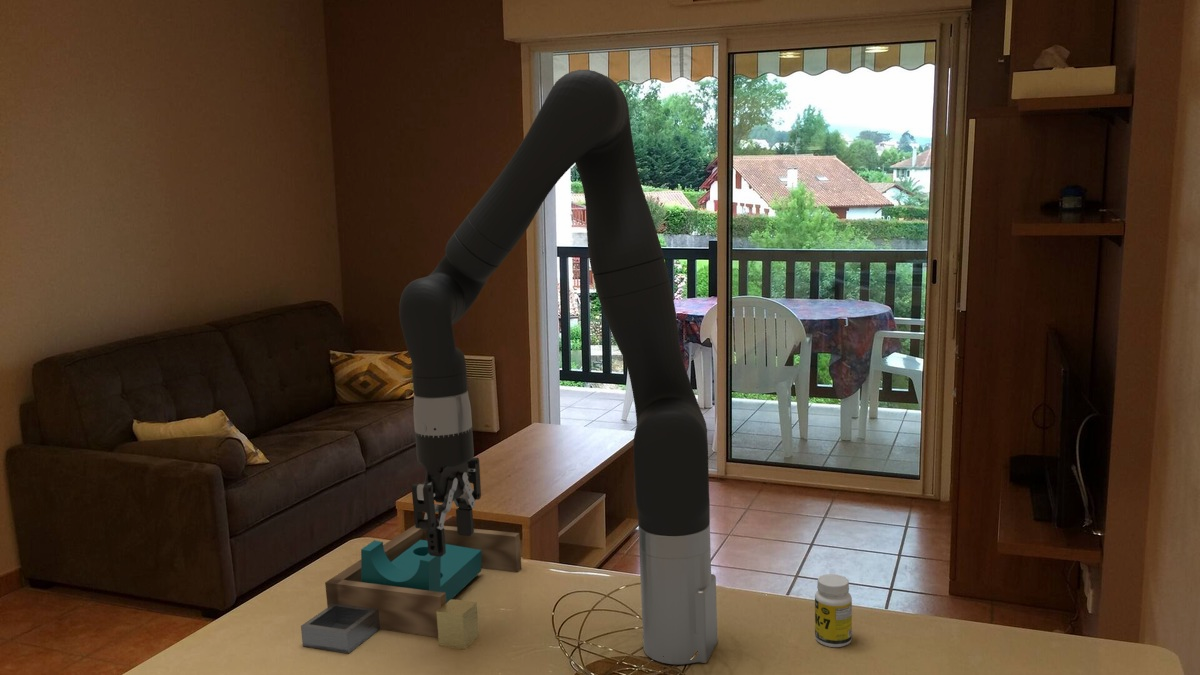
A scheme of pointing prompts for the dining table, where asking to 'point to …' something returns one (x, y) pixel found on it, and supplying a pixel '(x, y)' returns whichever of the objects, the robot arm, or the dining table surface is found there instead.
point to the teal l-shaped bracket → (421, 568)
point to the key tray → (340, 628)
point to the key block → (457, 624)
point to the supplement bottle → (833, 611)
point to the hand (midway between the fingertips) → (452, 544)
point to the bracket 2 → (414, 605)
